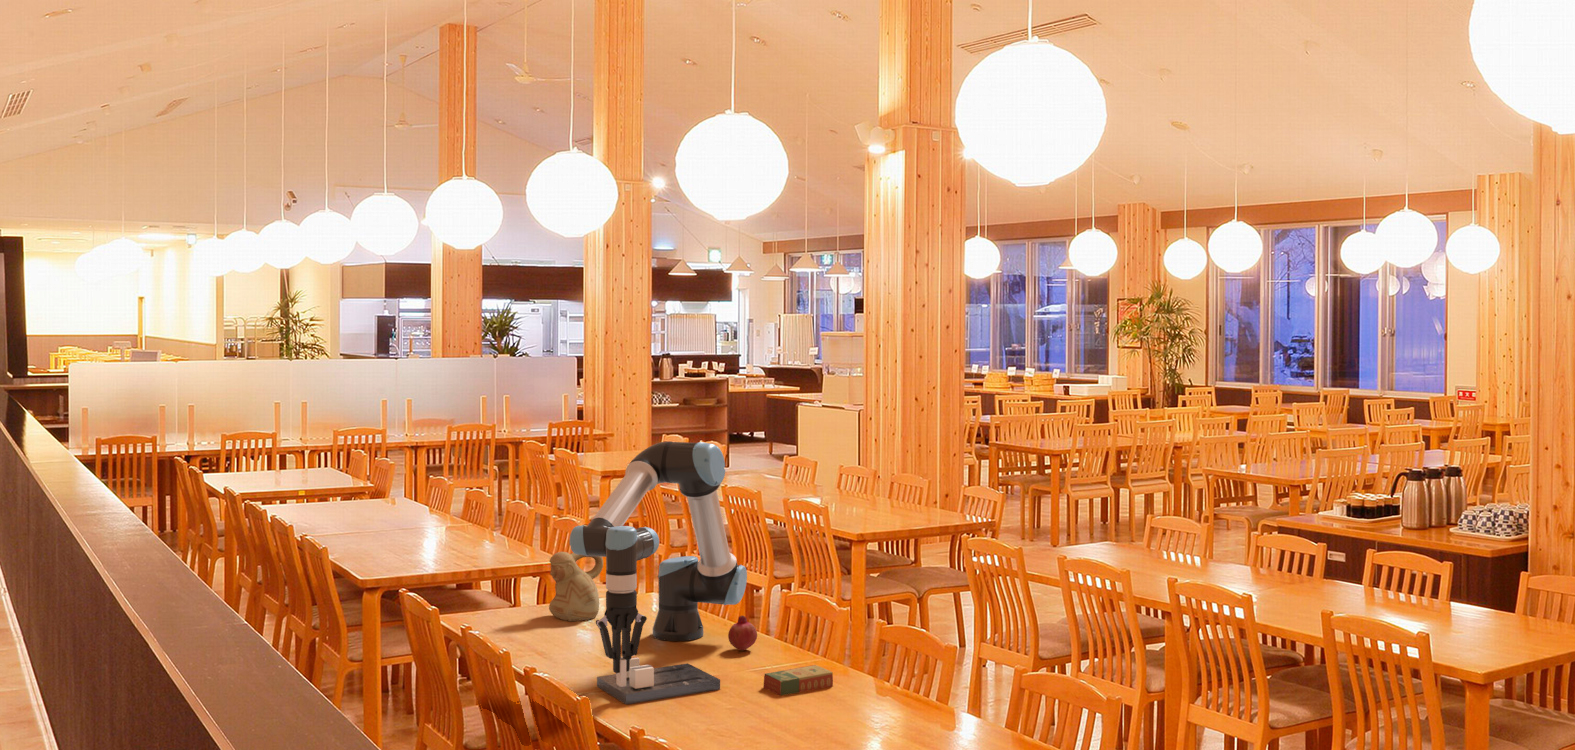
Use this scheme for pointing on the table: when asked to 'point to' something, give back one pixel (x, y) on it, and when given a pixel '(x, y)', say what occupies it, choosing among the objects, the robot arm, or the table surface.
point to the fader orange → (632, 664)
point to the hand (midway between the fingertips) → (621, 685)
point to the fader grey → (641, 676)
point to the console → (662, 684)
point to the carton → (798, 680)
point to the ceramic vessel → (574, 587)
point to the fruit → (742, 634)
